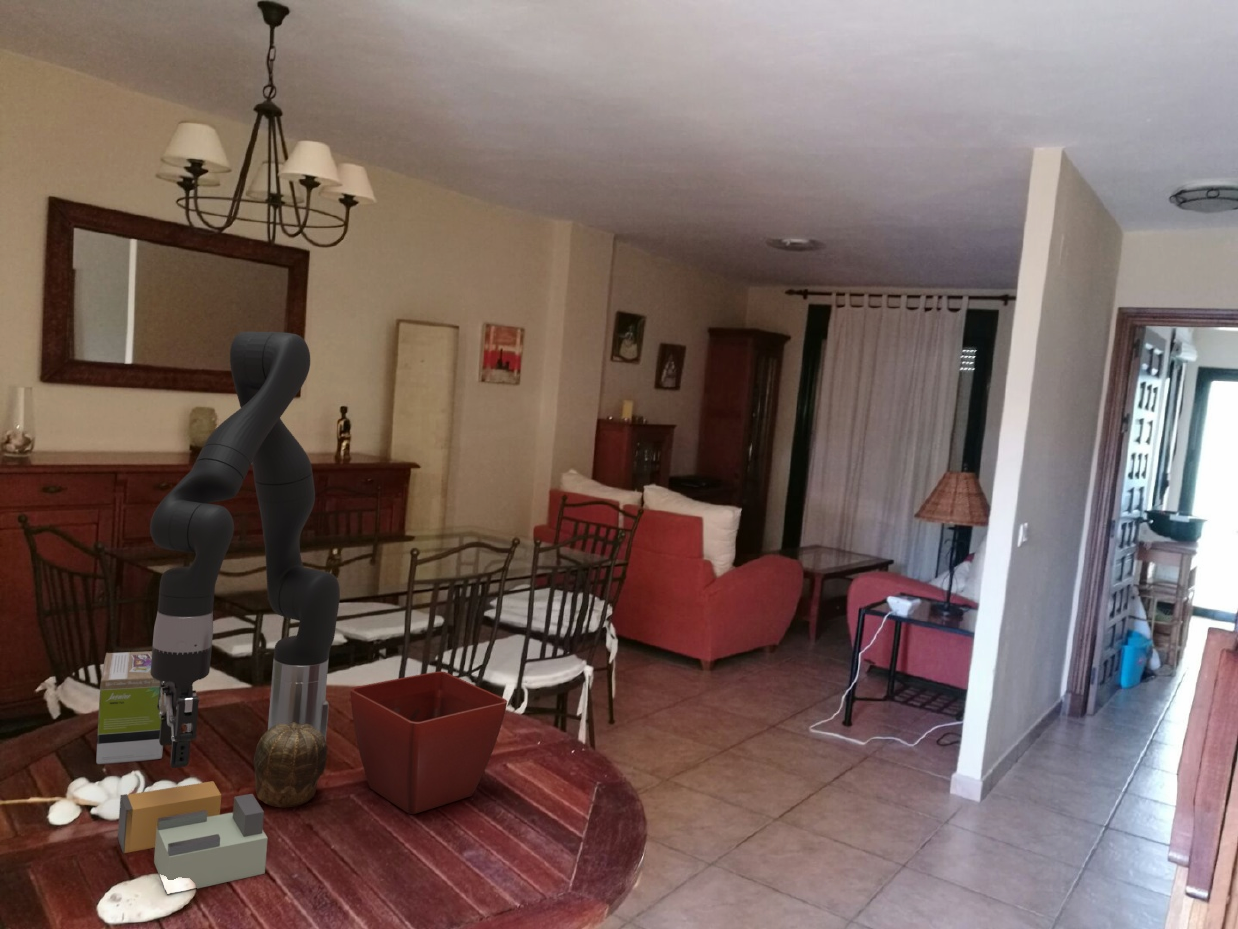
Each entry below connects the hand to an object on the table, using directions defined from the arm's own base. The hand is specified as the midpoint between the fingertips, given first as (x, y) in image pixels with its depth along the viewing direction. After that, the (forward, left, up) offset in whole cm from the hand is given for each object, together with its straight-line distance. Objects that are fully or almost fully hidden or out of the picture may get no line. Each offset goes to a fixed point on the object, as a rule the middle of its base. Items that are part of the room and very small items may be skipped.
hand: (173, 755), depth 127 cm
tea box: (0, -35, -12) cm, 37 cm away
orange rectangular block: (0, 0, -12) cm, 12 cm away
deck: (-3, +11, -12) cm, 17 cm away
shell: (-18, -5, -12) cm, 23 cm away
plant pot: (-38, +1, -12) cm, 40 cm away
